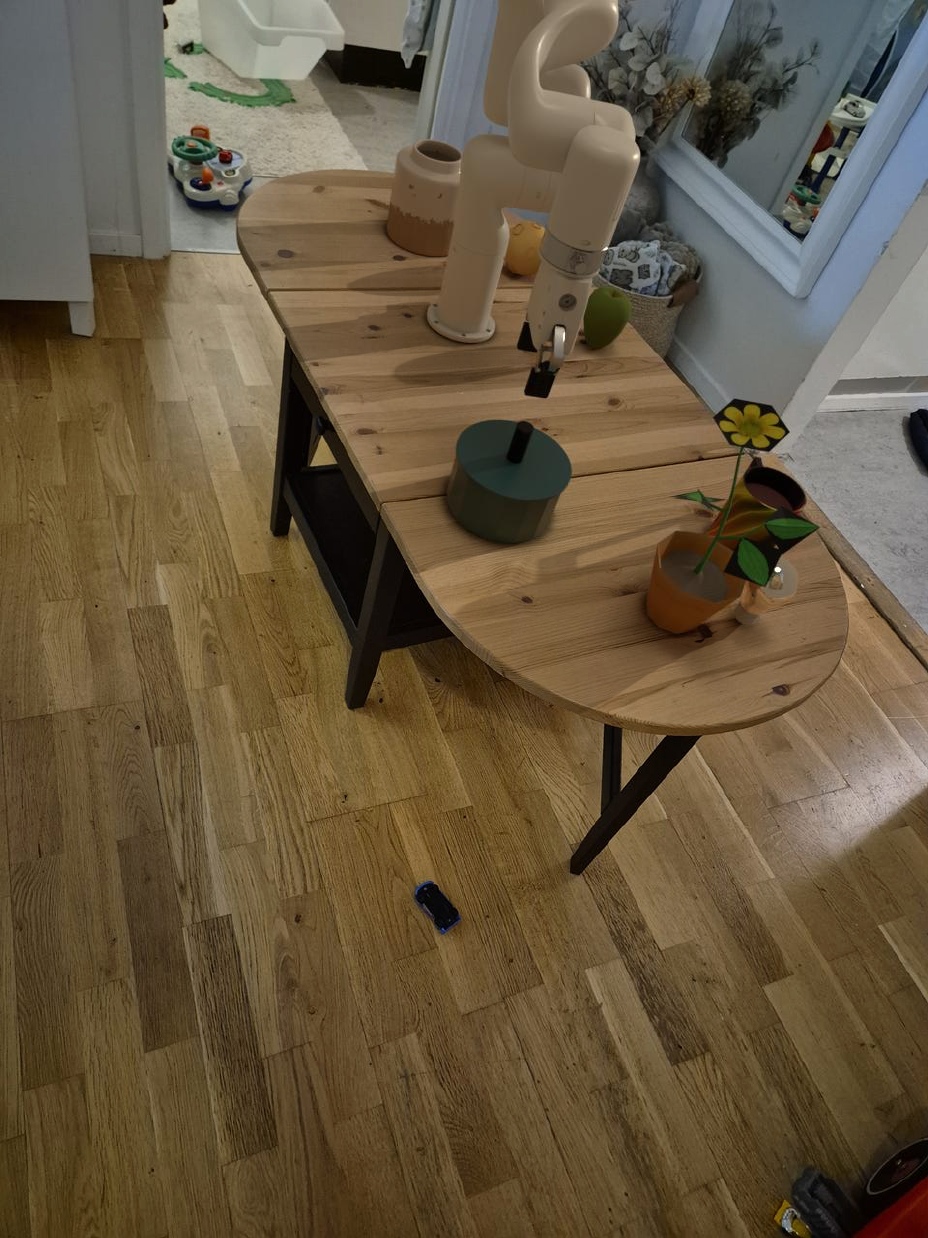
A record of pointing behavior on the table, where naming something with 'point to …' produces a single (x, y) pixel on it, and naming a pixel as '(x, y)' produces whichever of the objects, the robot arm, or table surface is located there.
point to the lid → (513, 460)
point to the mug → (758, 504)
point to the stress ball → (524, 248)
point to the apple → (605, 316)
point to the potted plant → (722, 538)
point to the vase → (425, 197)
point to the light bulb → (767, 593)
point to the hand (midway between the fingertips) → (531, 372)
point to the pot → (495, 511)
